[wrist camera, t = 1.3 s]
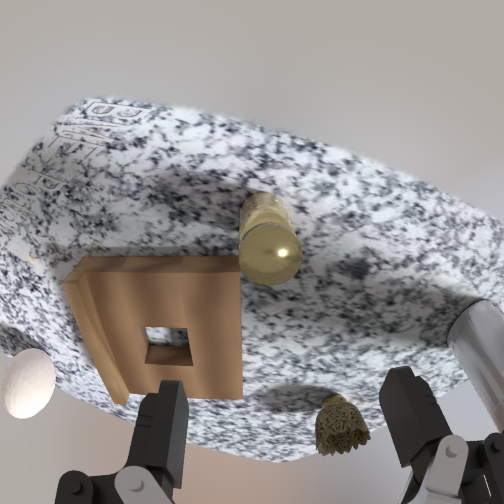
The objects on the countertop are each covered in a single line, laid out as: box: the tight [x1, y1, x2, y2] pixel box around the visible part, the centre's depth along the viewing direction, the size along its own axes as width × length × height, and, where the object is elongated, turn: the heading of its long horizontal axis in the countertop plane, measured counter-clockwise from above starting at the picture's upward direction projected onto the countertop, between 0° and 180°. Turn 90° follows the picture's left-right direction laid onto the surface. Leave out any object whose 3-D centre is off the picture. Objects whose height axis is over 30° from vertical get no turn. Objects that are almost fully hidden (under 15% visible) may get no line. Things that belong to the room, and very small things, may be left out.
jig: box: [63, 256, 243, 405], centre depth 30 cm, size 16×18×5 cm
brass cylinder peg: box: [238, 192, 303, 285], centre depth 23 cm, size 4×4×8 cm
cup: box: [315, 395, 371, 456], centre depth 36 cm, size 8×7×8 cm
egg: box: [2, 348, 56, 418], centre depth 29 cm, size 7×7×12 cm
